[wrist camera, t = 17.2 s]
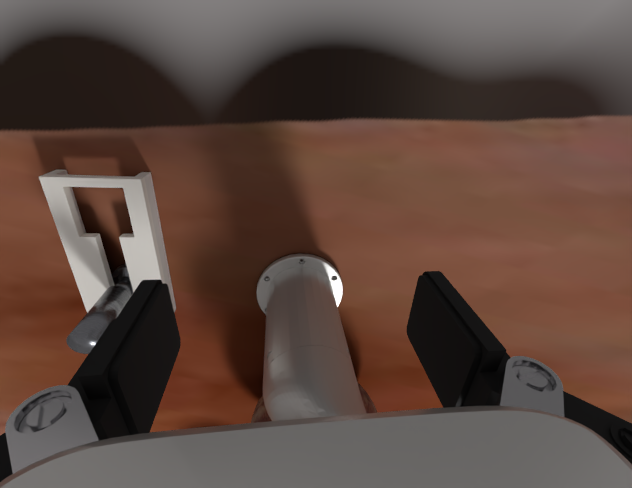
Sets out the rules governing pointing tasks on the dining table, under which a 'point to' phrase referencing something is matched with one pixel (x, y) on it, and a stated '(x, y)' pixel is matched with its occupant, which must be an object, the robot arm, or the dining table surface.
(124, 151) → the dining table surface
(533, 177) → the dining table surface
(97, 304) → the peg
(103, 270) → the keyhole plate
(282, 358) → the robot arm
